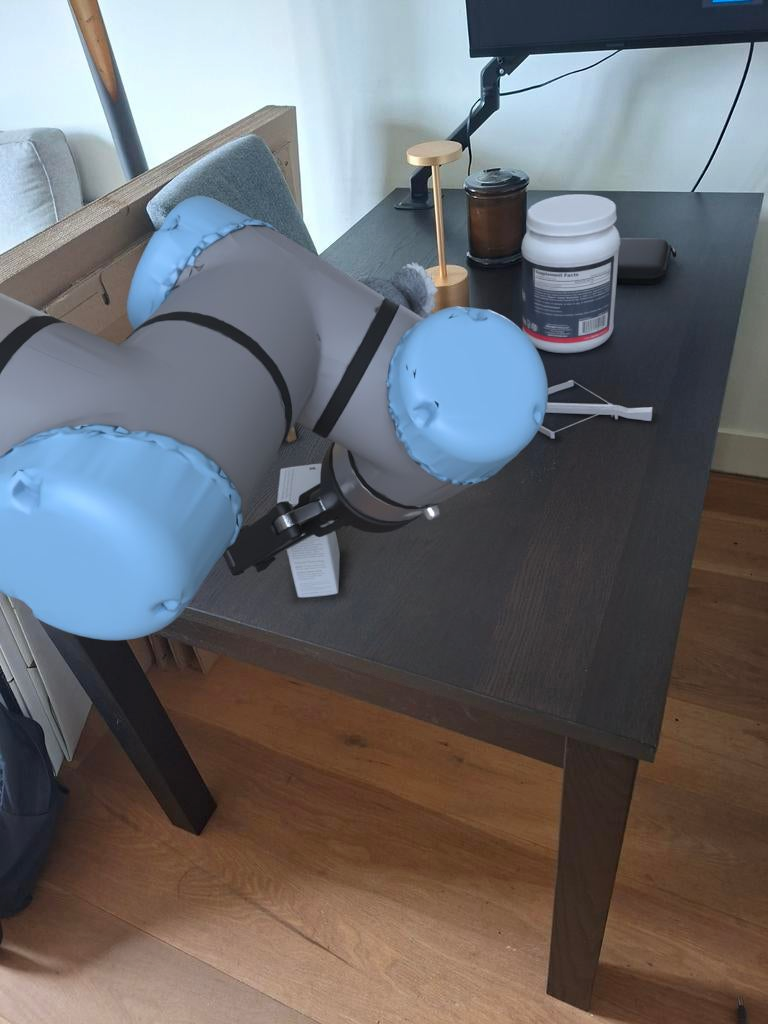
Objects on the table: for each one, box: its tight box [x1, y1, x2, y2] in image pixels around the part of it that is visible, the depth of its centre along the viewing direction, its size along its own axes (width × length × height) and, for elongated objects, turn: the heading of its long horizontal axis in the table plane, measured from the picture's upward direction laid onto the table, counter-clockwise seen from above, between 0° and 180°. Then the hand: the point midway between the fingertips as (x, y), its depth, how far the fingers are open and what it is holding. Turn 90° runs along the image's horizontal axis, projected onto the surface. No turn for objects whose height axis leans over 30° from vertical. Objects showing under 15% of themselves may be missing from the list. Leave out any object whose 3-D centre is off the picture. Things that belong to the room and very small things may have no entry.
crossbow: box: [537, 379, 653, 439], centre depth 94 cm, size 16×13×2 cm
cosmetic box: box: [276, 463, 340, 598], centre depth 73 cm, size 6×4×12 cm
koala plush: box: [357, 261, 439, 319], centre depth 93 cm, size 17×18×20 cm
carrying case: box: [617, 237, 677, 286], centre depth 124 cm, size 11×3×15 cm
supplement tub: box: [520, 193, 621, 354], centre depth 105 cm, size 13×13×18 cm
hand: (324, 525), depth 68 cm, fingers open, 13 cm apart
